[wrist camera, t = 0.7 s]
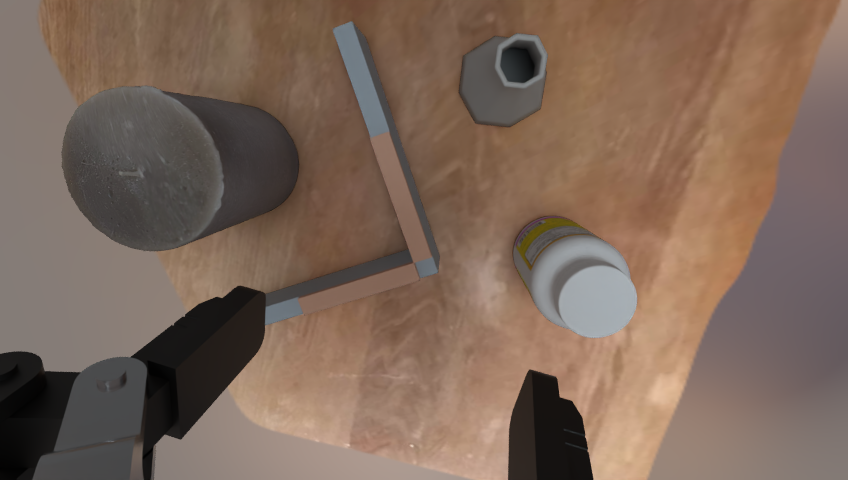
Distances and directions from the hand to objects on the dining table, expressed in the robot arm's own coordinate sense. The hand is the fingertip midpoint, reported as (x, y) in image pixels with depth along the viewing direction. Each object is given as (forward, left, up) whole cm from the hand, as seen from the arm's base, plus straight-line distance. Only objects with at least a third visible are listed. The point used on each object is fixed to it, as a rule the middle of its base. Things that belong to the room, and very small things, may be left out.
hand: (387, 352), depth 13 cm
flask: (-8, +9, -26) cm, 29 cm away
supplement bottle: (+7, +9, -26) cm, 29 cm away
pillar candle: (-9, -14, -26) cm, 31 cm away
